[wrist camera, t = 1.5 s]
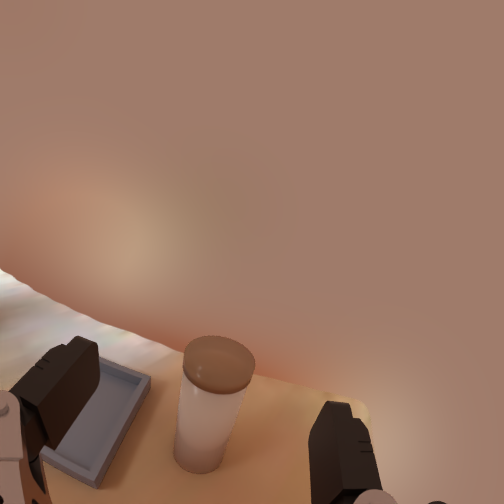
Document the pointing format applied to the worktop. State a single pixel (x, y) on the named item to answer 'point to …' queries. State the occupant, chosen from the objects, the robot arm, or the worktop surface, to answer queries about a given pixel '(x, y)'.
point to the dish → (100, 424)
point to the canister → (210, 400)
